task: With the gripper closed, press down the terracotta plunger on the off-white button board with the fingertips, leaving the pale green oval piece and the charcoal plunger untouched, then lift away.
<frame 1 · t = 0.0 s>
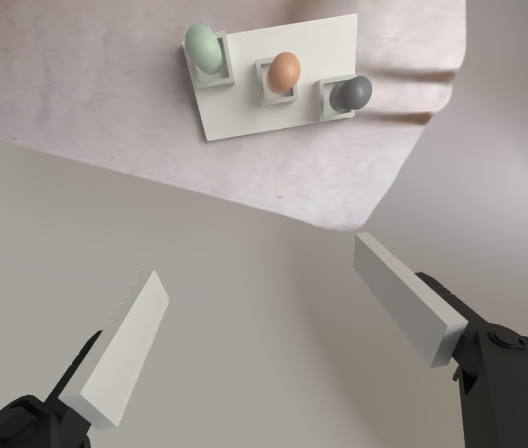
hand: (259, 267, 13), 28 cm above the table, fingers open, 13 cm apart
terracotta plunger: (282, 75, 26), point 7 cm above the table, slide at 0.0 cm
button board: (274, 84, 32), on the table
pale green oval piece: (205, 52, 25), point 7 cm above the table, slide at 0.0 cm
charcoal plunger: (348, 95, 28), point 7 cm above the table, slide at 0.0 cm
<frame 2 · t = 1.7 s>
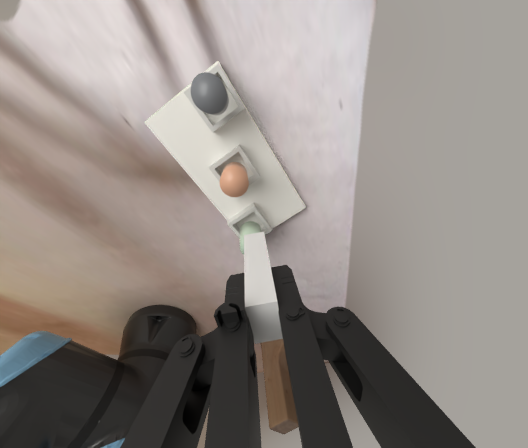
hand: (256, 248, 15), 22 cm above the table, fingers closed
terracotta plunger: (234, 178, 28), point 7 cm above the table, slide at 0.0 cm
button board: (235, 168, 34), on the table
pale green oval piece: (251, 238, 32), point 7 cm above the table, slide at 0.0 cm
charcoal plunger: (211, 96, 23), point 7 cm above the table, slide at 0.0 cm
wooden block: (278, 331, 53), on the table
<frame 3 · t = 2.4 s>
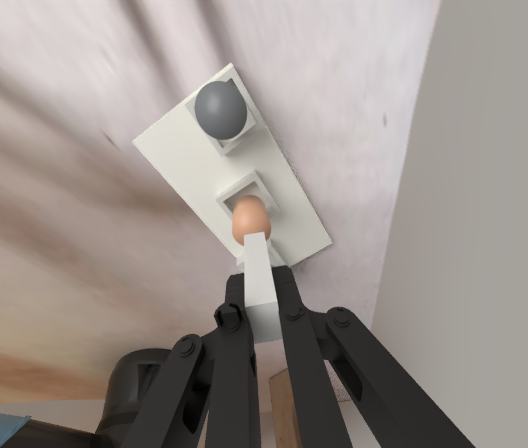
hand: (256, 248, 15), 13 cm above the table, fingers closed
terracotta plunger: (250, 219, 21), point 7 cm above the table, slide at 0.0 cm
button board: (248, 197, 27), on the table
pale green oval piece: (268, 288, 25), point 7 cm above the table, slide at 0.0 cm
charcoal plunger: (223, 113, 16), point 7 cm above the table, slide at 0.0 cm
wooden block: (289, 372, 47), on the table
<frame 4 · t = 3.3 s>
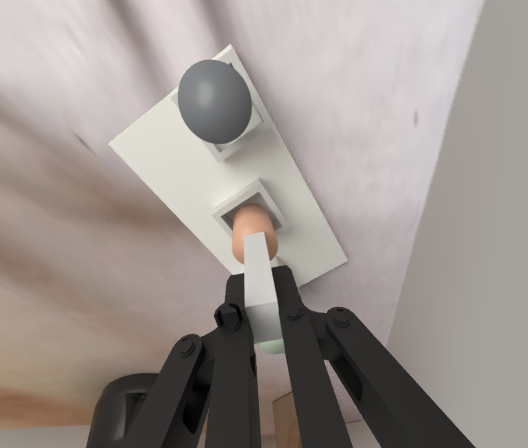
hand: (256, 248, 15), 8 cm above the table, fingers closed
terracotta plunger: (253, 232, 18), point 5 cm above the table, slide at 1.5 cm, touching gripper
button board: (251, 209, 23), on the table
pale green oval piece: (274, 318, 21), point 7 cm above the table, slide at 0.0 cm
charcoal plunger: (220, 108, 12), point 7 cm above the table, slide at 0.0 cm
wooden block: (294, 395, 43), on the table
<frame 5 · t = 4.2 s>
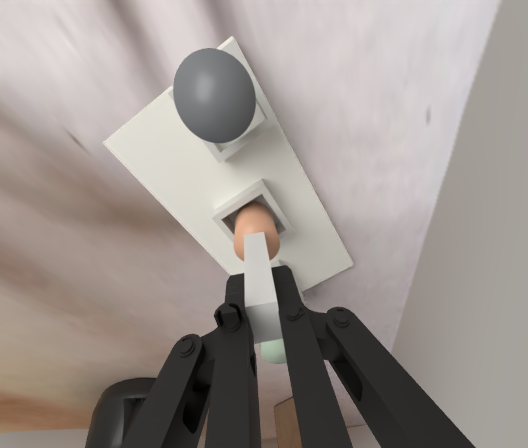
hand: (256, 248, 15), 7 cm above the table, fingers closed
terracotta plunger: (255, 230, 18), point 4 cm above the table, slide at 2.6 cm
button board: (253, 211, 22), on the table
pale green oval piece: (277, 326, 20), point 7 cm above the table, slide at 0.0 cm
charcoal plunger: (221, 104, 11), point 7 cm above the table, slide at 0.0 cm
wooden block: (296, 399, 42), on the table
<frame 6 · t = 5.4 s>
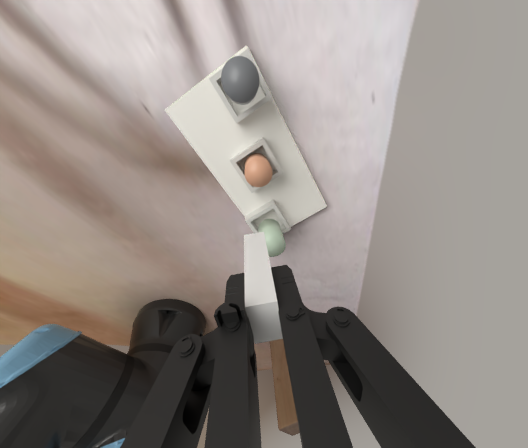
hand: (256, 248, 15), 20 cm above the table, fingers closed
terracotta plunger: (257, 169, 28), point 4 cm above the table, slide at 2.6 cm
button board: (256, 163, 32), on the table
pale green oval piece: (270, 236, 30), point 7 cm above the table, slide at 0.0 cm
charcoal plunger: (241, 83, 21), point 7 cm above the table, slide at 0.0 cm
wooden block: (287, 331, 52), on the table
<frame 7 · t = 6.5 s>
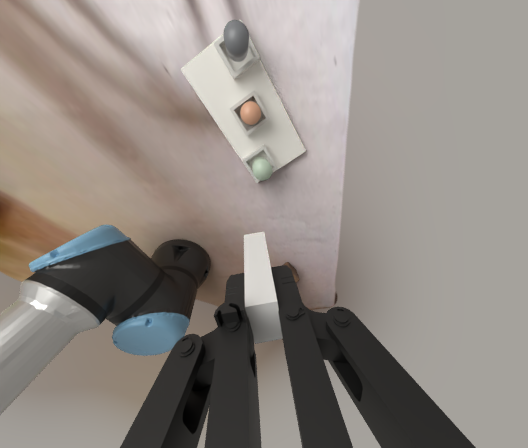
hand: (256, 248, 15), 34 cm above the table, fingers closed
terracotta plunger: (250, 113, 38), point 4 cm above the table, slide at 2.6 cm
button board: (249, 114, 42), on the table
pale green oval piece: (261, 168, 40), point 7 cm above the table, slide at 0.0 cm
charcoal plunger: (236, 42, 31), point 7 cm above the table, slide at 0.0 cm
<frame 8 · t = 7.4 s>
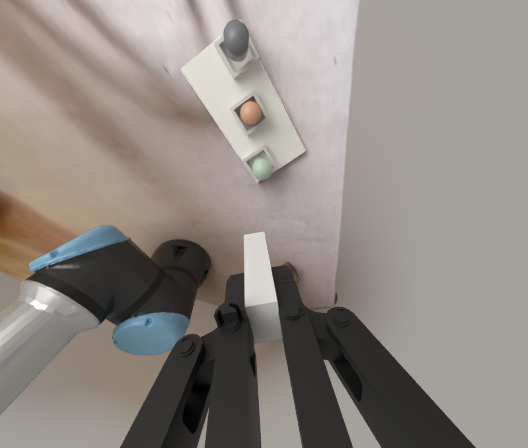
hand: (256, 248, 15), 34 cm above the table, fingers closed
terracotta plunger: (250, 113, 38), point 4 cm above the table, slide at 2.6 cm
button board: (249, 114, 42), on the table
pale green oval piece: (261, 168, 40), point 7 cm above the table, slide at 0.0 cm
charcoal plunger: (236, 42, 31), point 7 cm above the table, slide at 0.0 cm
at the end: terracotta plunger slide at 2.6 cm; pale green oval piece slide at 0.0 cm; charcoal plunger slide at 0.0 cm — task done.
